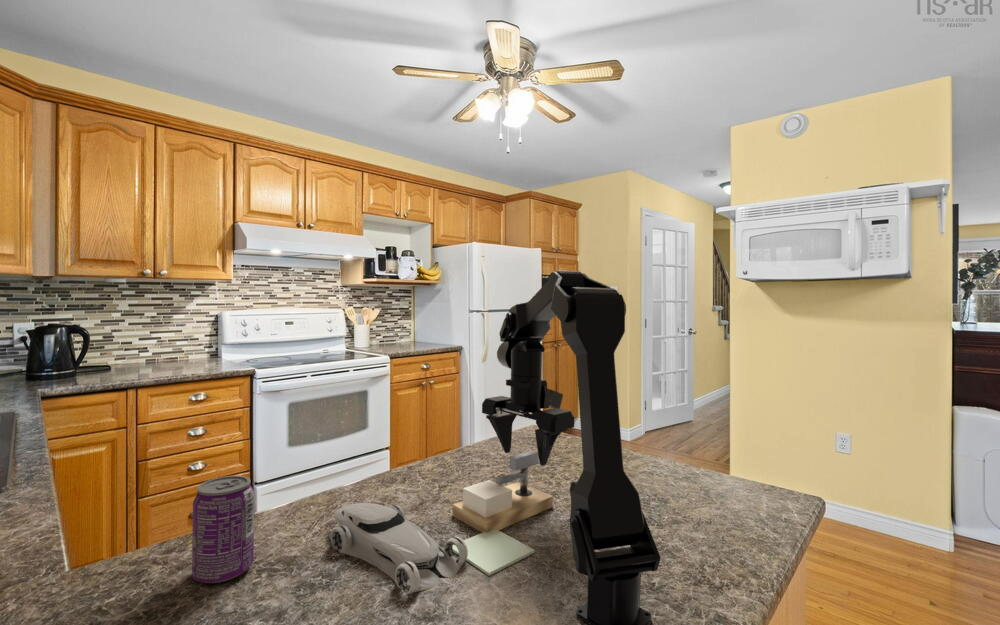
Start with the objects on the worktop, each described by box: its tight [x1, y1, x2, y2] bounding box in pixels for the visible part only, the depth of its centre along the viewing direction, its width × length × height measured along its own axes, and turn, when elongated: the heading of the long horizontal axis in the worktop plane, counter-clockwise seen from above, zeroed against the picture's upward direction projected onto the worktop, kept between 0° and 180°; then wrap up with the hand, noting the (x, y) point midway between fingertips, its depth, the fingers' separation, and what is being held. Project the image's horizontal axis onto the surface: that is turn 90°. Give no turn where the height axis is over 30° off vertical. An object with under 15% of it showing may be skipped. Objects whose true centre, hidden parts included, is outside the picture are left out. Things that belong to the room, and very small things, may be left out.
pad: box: [452, 529, 535, 577], centre depth 69 cm, size 9×9×1 cm
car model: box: [328, 502, 468, 595], centre depth 69 cm, size 11×24×5 cm, turn 50°
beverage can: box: [191, 475, 255, 584], centre depth 62 cm, size 7×7×12 cm
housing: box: [452, 481, 554, 533], centre depth 82 cm, size 16×9×2 cm, turn 133°
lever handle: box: [495, 449, 539, 493], centre depth 84 cm, size 10×2×7 cm, turn 133°
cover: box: [462, 479, 512, 518], centre depth 79 cm, size 6×6×3 cm
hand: (524, 458), depth 85 cm, fingers open, 9 cm apart
